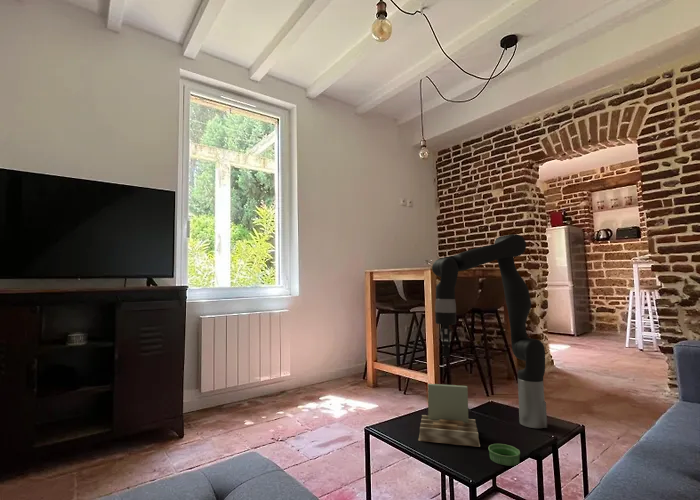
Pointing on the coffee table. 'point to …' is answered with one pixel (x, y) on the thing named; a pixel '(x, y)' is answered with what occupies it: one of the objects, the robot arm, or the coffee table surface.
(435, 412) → the sage board
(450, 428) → the offcut front
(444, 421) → the offcut middle
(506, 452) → the ramekin
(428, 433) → the rack
